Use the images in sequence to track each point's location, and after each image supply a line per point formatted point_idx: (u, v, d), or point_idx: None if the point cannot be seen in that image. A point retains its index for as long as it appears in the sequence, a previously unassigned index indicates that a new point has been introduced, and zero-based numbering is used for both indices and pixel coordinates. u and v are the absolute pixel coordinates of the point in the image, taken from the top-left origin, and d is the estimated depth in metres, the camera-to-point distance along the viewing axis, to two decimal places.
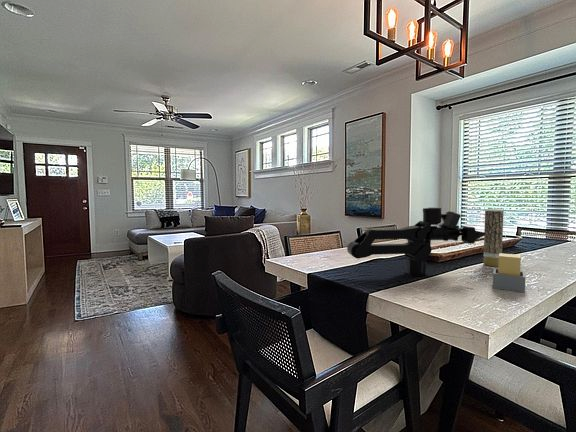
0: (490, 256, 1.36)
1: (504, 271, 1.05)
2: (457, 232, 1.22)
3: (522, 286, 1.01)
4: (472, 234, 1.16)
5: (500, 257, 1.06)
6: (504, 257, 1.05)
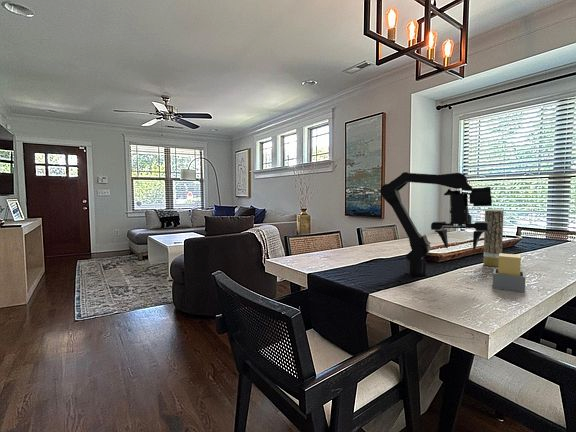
0: (490, 256, 1.36)
1: (504, 271, 1.05)
2: (468, 222, 1.14)
3: (522, 286, 1.01)
4: (489, 226, 1.10)
5: (500, 257, 1.06)
6: (504, 257, 1.05)
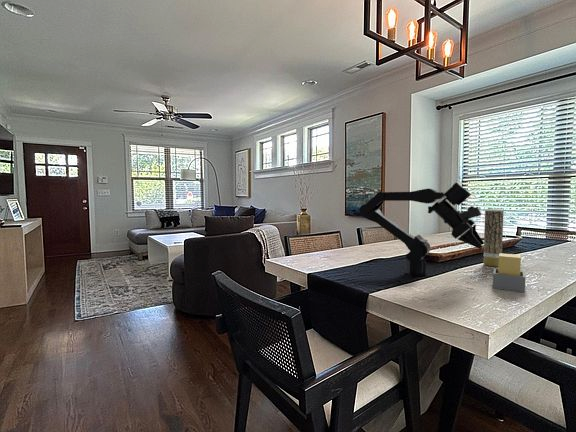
0: (490, 256, 1.36)
1: (504, 271, 1.05)
2: (460, 225, 1.12)
3: (522, 286, 1.01)
4: (461, 229, 1.06)
5: (500, 257, 1.06)
6: (504, 257, 1.05)
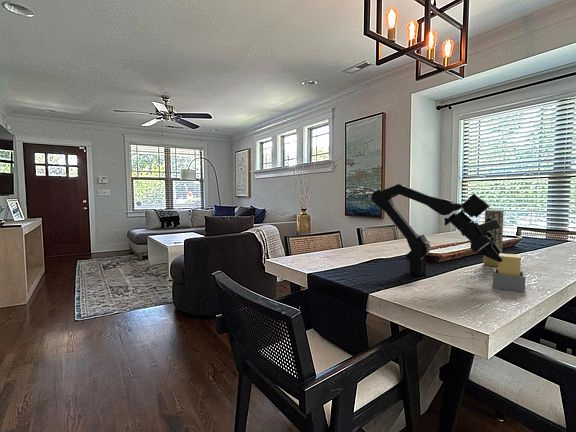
0: None
1: (504, 271, 1.05)
2: (478, 237, 1.09)
3: (522, 286, 1.01)
4: (481, 242, 1.03)
5: None
6: (504, 257, 1.05)
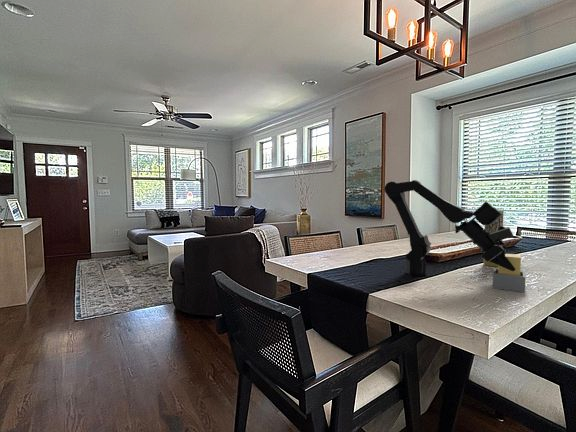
0: None
1: (504, 271, 1.05)
2: (490, 246, 1.07)
3: (522, 286, 1.01)
4: (493, 252, 1.01)
5: None
6: None
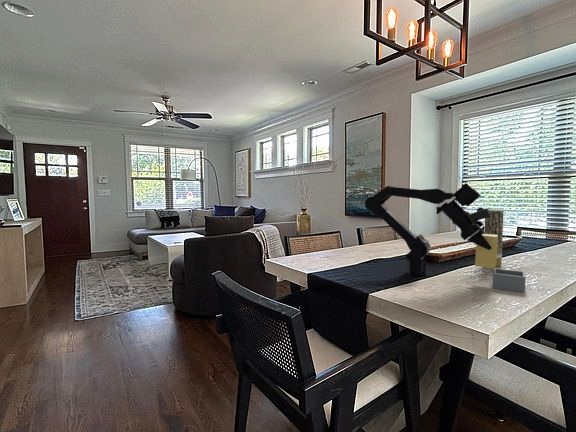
0: None
1: (481, 249, 1.09)
2: (469, 226, 1.11)
3: (522, 286, 1.01)
4: (470, 230, 1.05)
5: None
6: None
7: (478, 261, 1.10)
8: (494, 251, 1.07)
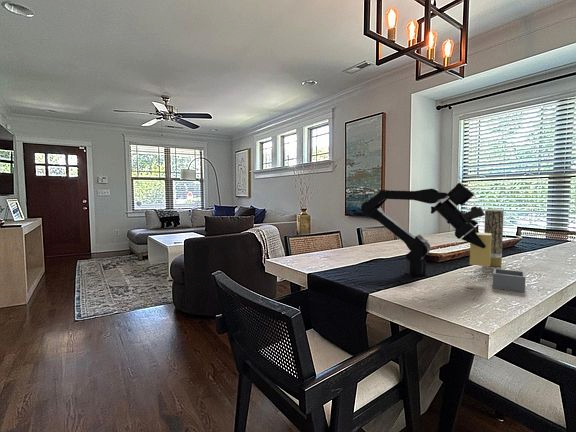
0: None
1: (476, 248, 1.10)
2: (463, 225, 1.12)
3: (522, 286, 1.01)
4: (464, 229, 1.06)
5: None
6: None
7: (473, 259, 1.10)
8: (488, 249, 1.08)
